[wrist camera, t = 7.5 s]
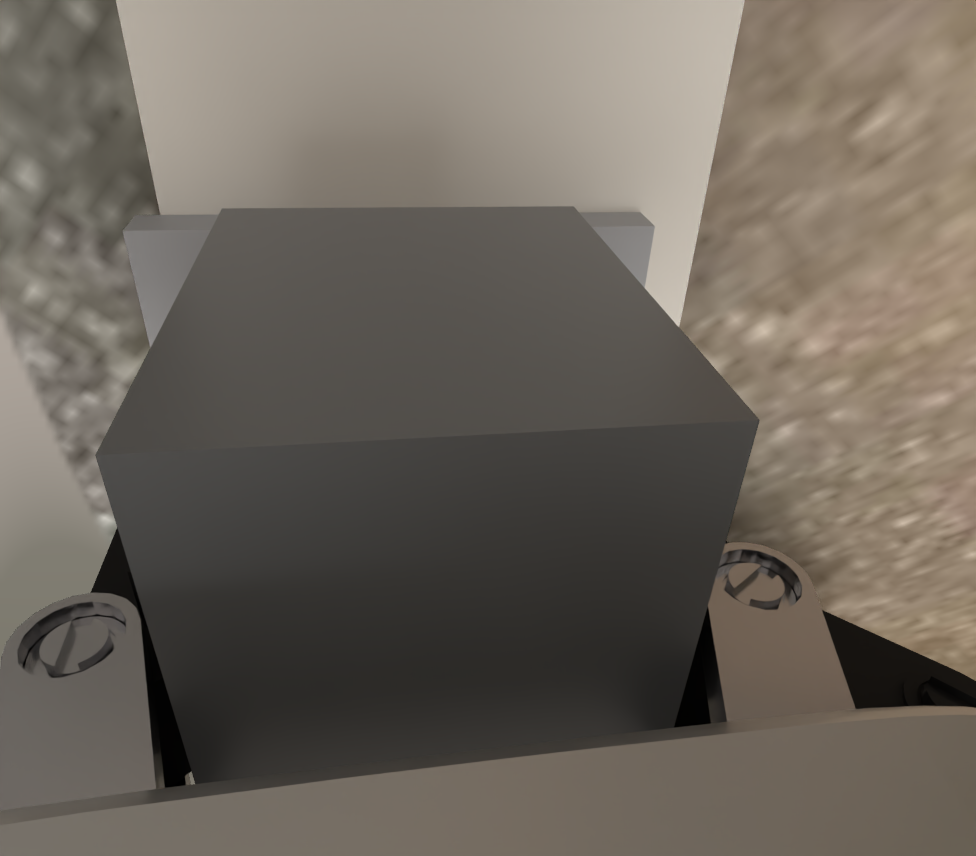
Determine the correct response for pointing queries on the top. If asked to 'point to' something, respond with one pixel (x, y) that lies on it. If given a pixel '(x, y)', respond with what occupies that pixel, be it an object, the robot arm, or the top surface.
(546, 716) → the block
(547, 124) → the plate
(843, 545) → the top surface
